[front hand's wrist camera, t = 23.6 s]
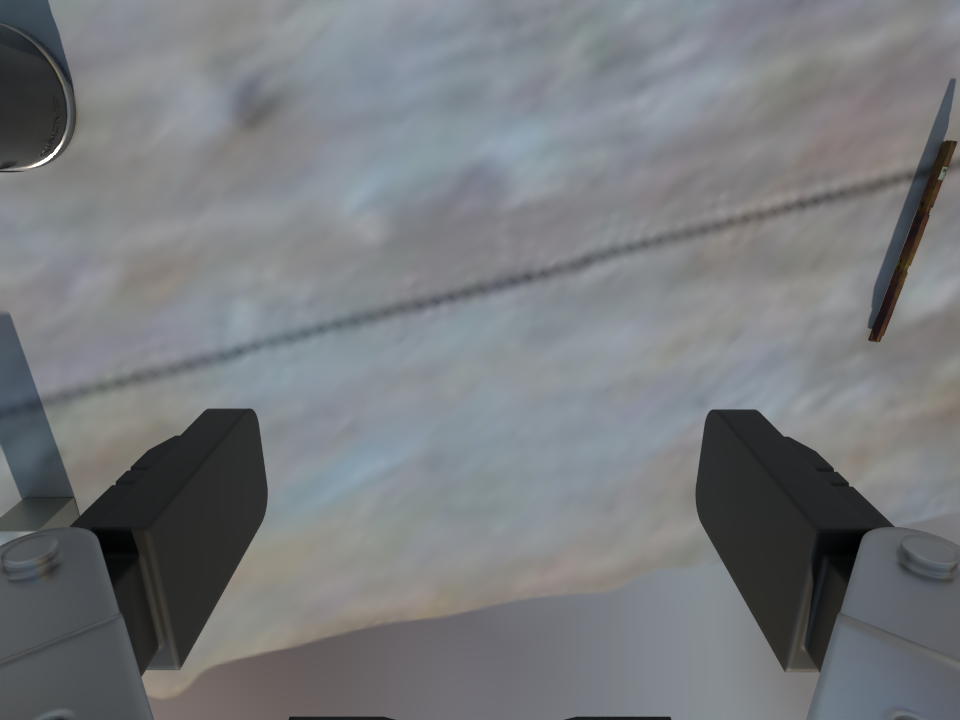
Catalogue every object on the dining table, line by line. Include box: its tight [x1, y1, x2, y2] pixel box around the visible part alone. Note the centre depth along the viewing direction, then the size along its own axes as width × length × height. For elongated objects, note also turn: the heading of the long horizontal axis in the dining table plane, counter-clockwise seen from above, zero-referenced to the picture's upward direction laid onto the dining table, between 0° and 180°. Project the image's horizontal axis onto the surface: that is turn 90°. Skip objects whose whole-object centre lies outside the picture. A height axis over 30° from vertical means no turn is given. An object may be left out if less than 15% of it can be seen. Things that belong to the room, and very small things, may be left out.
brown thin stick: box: [868, 141, 957, 342], centre depth 46 cm, size 15×1×1 cm, turn 172°
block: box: [0, 498, 79, 546], centre depth 53 cm, size 5×4×5 cm
